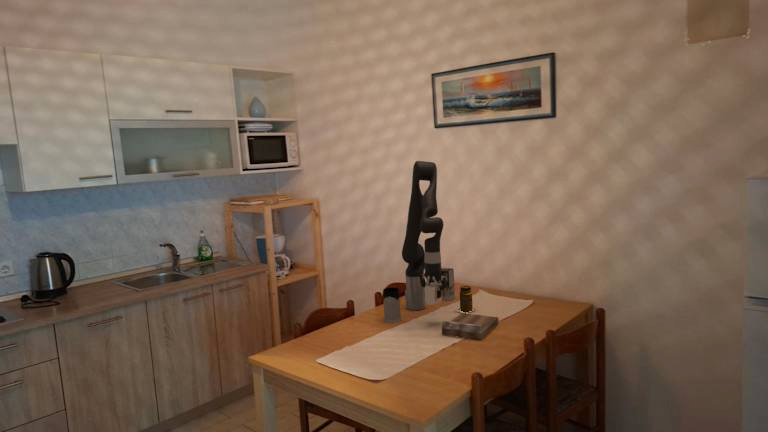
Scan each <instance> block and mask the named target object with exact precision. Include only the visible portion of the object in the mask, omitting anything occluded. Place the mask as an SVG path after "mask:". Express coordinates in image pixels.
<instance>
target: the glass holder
mask: <svg viewBox="0 0 768 432" xmlns="http://www.w3.org/2000/svg"><path fill="white" fill-rule="evenodd" d="M382 292H383V294H382V295H383V298H382V299H383V300H382V301H383V314H384V316H383V322H385V323H387V324H394V323H400V322H401V321H402V320H403V318H402V316H401V301H400V300H401V299H400V290H399V288H398V287H386V288H383V290H382Z"/></svg>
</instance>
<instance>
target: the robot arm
mask: <svg viewBox="0 0 768 432" xmlns="http://www.w3.org/2000/svg"><path fill="white" fill-rule="evenodd" d="M421 181H425V182H426V181H427V182H429V185H428V187H427V189H426V190H425V191H424V193H422V190H421V187H420V182H421ZM437 182H438V167H437V165H436V163H435V162H432V161H423V160H416V161H415V162H414V164H413V168H412V181H411V193H410V200H409V205H408V206H409V207H408V213H407V222H406V223H407V224H406V231H405V235H404V236H405V237H404V241H403V245H402V250H401V257H402V260H403V262H404V263H406V264H407V267H406V269H405V271H404V272H405V290H404V298H405V309H408V310H410V311H421V310H425V308H426V304H425V287H426V286H428V285H429V284H431V283H435V286H436V287H437V298H440V297H441V296H442V290H443V289H445V288H446V283H447V279H448V277H447V276H446V277H445V276H442V274H441V268H442V256H441V255H442V254H441V238H442V237H441V236H442V234H443V229H444V221H443V219H442V218H441V217H438V216H437V214H438V203H437V202H438V201H437V187H438V186H437V184H438V183H437ZM436 216H437V217H436ZM421 233H423V234H434V235H433V236H432V237H428V238H426V239H424V246H423V245H422V244H421V243H419V242H420V241H419V240H420V237H421ZM441 278H442V285H441V282H440V279H441ZM437 282H438V283H437Z"/></svg>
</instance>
